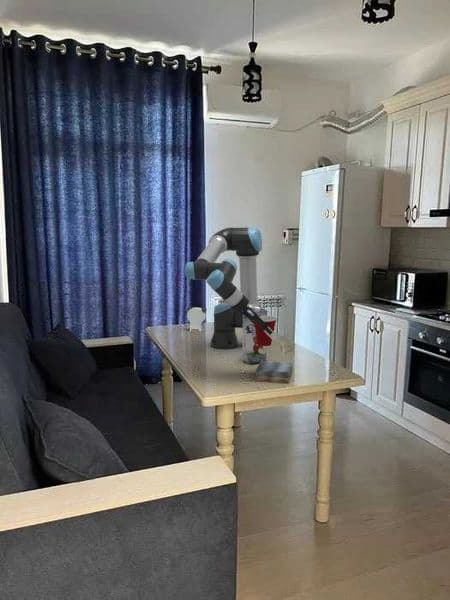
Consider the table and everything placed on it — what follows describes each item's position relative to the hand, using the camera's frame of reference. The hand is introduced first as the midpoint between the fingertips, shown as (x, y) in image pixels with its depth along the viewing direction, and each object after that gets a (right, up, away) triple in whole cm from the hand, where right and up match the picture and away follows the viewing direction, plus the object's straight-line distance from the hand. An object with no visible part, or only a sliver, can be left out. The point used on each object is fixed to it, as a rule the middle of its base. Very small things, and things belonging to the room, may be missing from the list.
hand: (271, 335), depth 200 cm
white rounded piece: (-38, -4, +87) cm, 95 cm away
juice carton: (-6, -15, +22) cm, 27 cm away
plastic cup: (-3, -4, 0) cm, 5 cm away
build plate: (+2, -17, +2) cm, 18 cm away
